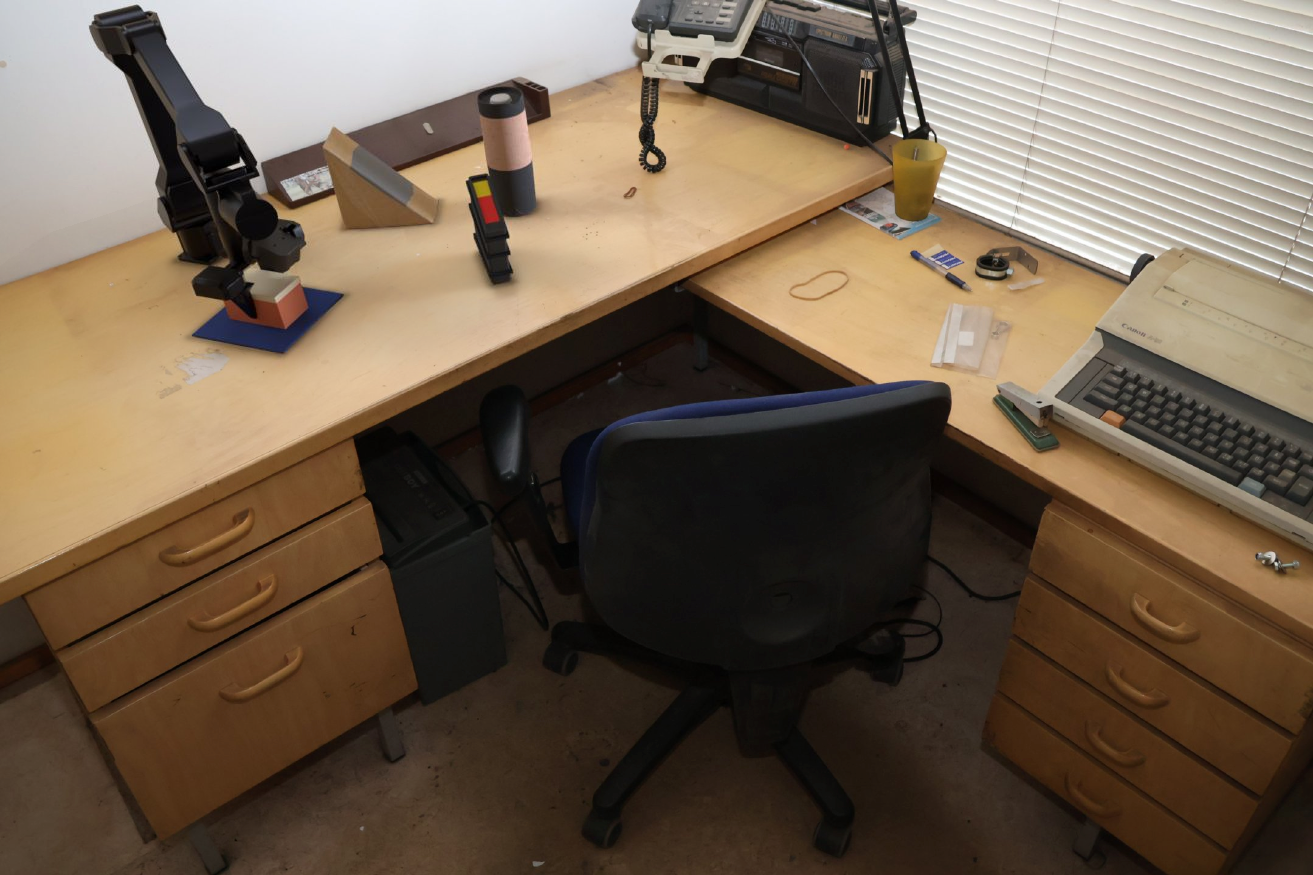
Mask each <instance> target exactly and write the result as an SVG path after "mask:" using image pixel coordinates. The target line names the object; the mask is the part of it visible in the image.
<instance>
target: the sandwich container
mask: <svg viewBox="0 0 1313 875" xmlns="http://www.w3.org/2000/svg"><path fill="white" fill-rule="evenodd" d="M322 151H323V154H324V158H325V162H326V165H327V169H328V172H329V176H330V179H331V183H332V186H333V191H334V194H335V198H336V201H337V205H338V209H339V212H340V215H341V218H342V222H343V226H344V229H346V230H347V229H349V230H351V229H369V228H387V227H401V226H402V227H403V226H413V225H414V226H415V225H427V224H428V225H429V224H434V221H435V218H436V215H437V212H438V206H439V200H438V199H436V198H435V197H434V196H432V195H430V194H429V193H428V192H426V191H425V190H424V189H422V188H420V187H419V186H418V185H416V184H415V183H413V182H412V181H410V180H409V179H408V178H406V177H405V176H403V175H402V174H400V173H399V172H398V171H397V170H395V169H393V168H392V167H390V165H388V164H387V163H385V162H384V161H382V160H381V159H380V158H378V157H376V155H373V154H372V153H371V152H370V151H368V150H367V149H365V148H364V147H363V146H362V145H360V144H359V143H357V142H356V141H354V140H353V139H352V138H351V137H349V136H348V135H347V134H345V133H343V132H342V131H341V130H340V129H338V128H337V127H336V126H335V125H334V126H332V127H331V129H330V131H329V133H328V136H327V138H326V140H325V141H324V144H323V145H322Z"/></svg>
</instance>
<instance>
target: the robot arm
mask: <svg viewBox="0 0 1313 875" xmlns="http://www.w3.org/2000/svg"><path fill="white" fill-rule="evenodd" d="M88 29H89V32H90V36H91V38H92V40H93V42H94V44H95V46H96V47H97V49H98V50H99V51H100V52H101V53H103V56H104V57H105V58H106V59H107V60H108V61H109V62H110V63H111V64H113V65H114V66H115V67H116V68H118V69H119V70H120V71H121V72H122V73H123V76H124V78H125V80H126V82H127V83H126V84H127V85H128V88H129V90H130V93H131V95H132V99H133V101H134V104H135V106H136V108H137V111H138V113H139V116H140V119H141V121H142V124H143V127H144V129H145V131H146V134H147V137H148V139H149V142H150V145H151V147H152V150H153V152H154V155H155V158H156V160H157V162H158V169H157V174H156V177H155V181H154V184H155V187H156V190H157V193H158V197H156V203H157V204H156V205H157V206H156V207H157V208H156V209H157V210H156V211H157V214H158V216H159V218H160V220H161V223H162V224H163V226H165V227H166V228H167V229H168V230H169V231H170V232H171V233H172V234H176V237H177V240H178V243H179V244H180V247H181V250H182V251H183V252H181V253H180V254H178V255H177V260H179V261H185V262H190V263H197V264H202V265H207V267H205V268H204V269H202V270H201V271H200V272H199V273H197V274H196V275H195V276H193V278H192V280H191V281H190V283H191V287H192V289H193V292H194V294H195V296H196V297H202V298H208V299H212V300H217V301H222V302H223V301H228V300H231V301H232V302H233V303H235V304H236V305H237V306H238V307H239V308H240V309H241V310H242V311H243V312H244V313H245V314H247V315H248V316H249V317H250V318H252V319H256V318H257V312H256V308H255V305H254V302H253V298H252V295H251V292H250V290H251V288H252V287H253V285H254V283H252V282H246V279H245V276H244V272H245V271H246V270H247V269H248V268H252V266H254V265H255V264H256V263H257V265H258V267H259V269H260V270H266V271H272V272H278V273H284V274H285V273H286V272H288V271H289V270H290V269H291V268H292V267H293V266H294V265H295V264H296V263H299V261H301V250H302V249H303V248H304V247H305V246H306V245H307V242H306V240H305V232H304V230H303V227H302V225H301V223H298V222H297V221H296V220H291V219H284V218H279V214H278V211H277V209H276V208H275V207H274V205H273V204H272V203H271V202H270V201H268V200H267V199H266V198H265V197H263V196H262V195H261V194H260V193H258V192H257V191H256V190H255V189H254V188H253V185H252V183H251V180H253V179H256V178H259V177H260V176H261V174H260V172H259V170H258V168H257V166H258V161H257V159H256V157H255V155H254V153H253V152H252V150H251V148H250V147H249V145H248V143H247V142H246V140H245V138H244V137H243V135H242V134H241V133H239V132H238V129H236V128H235V127H232V126H231V125H230V124H229V122H228V121H227V120H226V118H225V117H224V115H223V114H222V113H221V111H218V110H216V109H215V108H214V107H211V106H208V105H206V104H205V103H204V101H203V99H202V98H201V96H200V95H199V93H198V92H197V90H196V88H195V87H194V85H193V84H192V82H191V80H190V79H189V77H188V76H187V74H186V72H185V70H184V69H183V67H182V66H181V65H180V64H181V63H180V62H179V61H178V60H177V58H176V56H175V55H174V52H172V49H171V48H170V46H169V45H168V41H167V40H168V38H167V35H166V33H165V30H164V27H163V25H162V22H161V20H160V18H159V15H158V12H155V11H152V10H146V11H145V10H143V8H142V7H141V5H139V4H133V5H129V6H125V7H120V8H117V9H112V10H109V11H104V12H100V13H96V14H93V20H92V21H91V24H89V25H88ZM241 161H242V162H243V164H244V165H241V166H238V167H235V168H230V167H232V166H235V165H238V164H240V163H241ZM218 258H224V259H228V261H229V262H228V264H227V265H225V266H218V265H211V264H213V262H215V261H216V260H217V259H218Z"/></svg>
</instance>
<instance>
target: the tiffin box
mask: <svg viewBox="0 0 1313 875" xmlns="http://www.w3.org/2000/svg"><path fill="white" fill-rule="evenodd" d="M244 276H245V279H246V282H252V283H254V285H253V287H252V288H251V290H250V292H251V295H252V298H253V302H254V305H255V308H256V312H257V318H256V319H252V318H250V317H249V316H248V315H247V314H245V313H244V312H243V311H242V310H241V309H240V308H239V307H238V306H237V305H236V304H235V303H233V302H232V301H231V300H228V301H223V300H222V302H223V305H224V307H226V310H227V313H228V315H229V318H230V319H233V320H238V321H244V322H249V323H254V324H260V325H265V326H271V327H276V328H281V329H286V328H287V327H288V326H289V325H291V324H292V323H293V322H294V321H295V320H296V319H297V318H298V317H299V316H300V315H301V314H302V313H303V312H304V311H306V310H307V309H308V305H307V301H306V298H305V295H304V292H303V289H302V287H303V286H302V283H301V282H302V281H301V276H299V275H296V274H295V275H294V274H288V273H285V272H284V273H278V272H272V271H266V270H261V269H260V268H253V267H250V268H248V269H247V270H246V271H245V272H244Z"/></svg>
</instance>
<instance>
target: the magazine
mask: <svg viewBox="0 0 1313 875" xmlns="http://www.w3.org/2000/svg"><path fill="white" fill-rule="evenodd" d="M465 185H466V189H467V192H468V194H469V195H468V196H469V197H470V198H469V199H470V202H468V210H469V212H470V215H471V218H472V221H473V226H474V227H473V228H474V232H472V236H473V240H474V243H475V245H476V247H477V250H478V253H479V256H480V258H481V261H482V263H483V265H484V268H485V270H486V272H487V276H488V278H489V279H490V281H491V283H492V285H498V284H503V283H508V282H511V281H512V274H514V269H513V267H512V265H511V262H510V259H509V256H511V255H512V252H511V249H510V246H509V244H508V240H509V239H510V238H511V237H510V233H509V230H508V226H507V224H506V221H505V216H503V214H502V211H501V208H500V205H499V202H498V199H497V196H496V193H495V190H494V187H493V184H492V181H491V178H490V176H489V173H486V172H484V173H480V174H475V175H470V176H468V179H467V180H465Z"/></svg>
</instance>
